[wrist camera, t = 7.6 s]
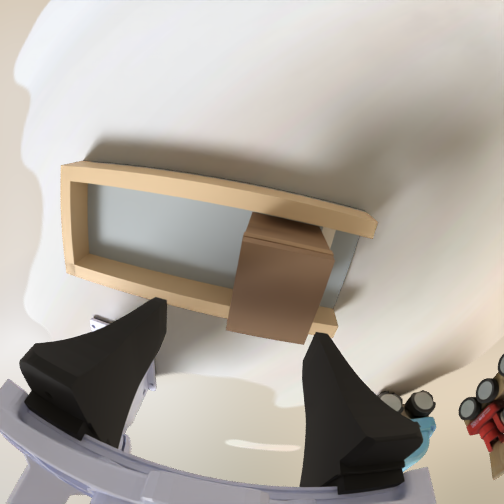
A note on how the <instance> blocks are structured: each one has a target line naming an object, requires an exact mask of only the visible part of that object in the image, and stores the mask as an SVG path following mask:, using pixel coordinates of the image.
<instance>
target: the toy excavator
mask: <svg viewBox="0 0 504 504" xmlns="http://www.w3.org/2000/svg"><path fill="white" fill-rule="evenodd" d="M388 392H389V391H386V392H383V393H381V394H379V395H378V397H379V398H380V399H381V400H383V401H384V402H385V403H386V404H387V405H389V406H390V407H391V408H393V409H394V410H396V411H397V412H399V413H400V414H402V415H403V416H405V417H407V418H408V419H410V420H412V421H414V422H416V423H417V424H418V425H419V427H420V430H421V433H422V436H423V443H422V444H421V446H420V447H419V448H418V449H417V450H416V451H415V452H414V453H412V454H411V455H410V456H409V457H407V458H406V459H405V460H404V461H405V467H404V468H402V471H403V472H404V471H405V470H406V469H408V468H409V467H411V466H412V465H413V464H415V463H416V462H418V461H419V460H420V459H421V458H422V457H423V456H424V455H425V453H426V452H427V449H428V446H429V438H430V437H431V436H432V434H433V432H434V431H435V429H436V424H435V421H434V418H433V417H429V414H430V413H431V412H432V411H433V410H434V408H435V405H436V403H435V402H433V397H432V395H431V394H430V393H429V392H427V391H424V390H422V391H421V392H417V393H413V394H412V395H411V397H410V398H409V399H408V401H407V402H406V403H405V404H402V399H401V397H400V396H398V395H397V394H395V393H393V394H394V395H392V394H388Z"/></svg>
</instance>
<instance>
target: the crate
mask: <svg viewBox="0 0 504 504" xmlns="http://www.w3.org/2000/svg"><path fill="white" fill-rule="evenodd" d="M333 256H334V254H333V252H332V251H331V250H330V248H329V246H328V244H327V242H326V240H325V237H324V235H323V233H322V231H321V229H320V227H319V226H314V225H310V224H306V223H301V222H297V221H292V220H288V219H283V218H279V217H274V216H269V215H265V214H260V213H255V212H252V215H251V217H250V220H249V223H248V226H247V229H246V232H244V234H243V239H242V244H241V249H240V255H239V260H238V265H237V271H236V276H235V282H234V287H233V293H232V298H231V304H230V309H229V315H228V320H227V327H226V330H228V331H233V332H237V333H242V334H247V335H252V336H257V337H262V338H268V339H273V340H279V341H285V342H291V343H297V344H303V345H304V343H305V341H306V338H307V336H308V333H309V331H310V328H311V326H312V323H313V321H314V318H315V315H316V313H317V310H318V308H319V305H320V302H321V299H322V297H323V294H324V291H325V288H326V286H327V283H328V280H329V277H330V274H331V271H332V268H333V265H334V262H335V259H334V257H333Z"/></svg>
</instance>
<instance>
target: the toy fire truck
mask: <svg viewBox="0 0 504 504" xmlns="http://www.w3.org/2000/svg"><path fill="white" fill-rule="evenodd" d="M498 371H499V372H498V373H497V374H496V376H495V377H494V378H493V379H490V378H487V379H484V380H482V381H481V382H480V383H479V385H478V387H477V390H476V397H468V398H466V399H465V400H464V401H463V402H462V403H461V405H460V407H459V416H460V418H461V419H462V420H464V422H465V424H466V426H467V430H468V433H469V435H475V434H480V436H481V439H483V440H484V442H485V444H486V446H487V449H488V451H489V452H490V461H491V468H492V477H493V480H495V479H497V478H499V477H500V476H501V475H503V474H504V434H503V433H504V354H503V355H502V357H501V358H500V360H499V363H498Z"/></svg>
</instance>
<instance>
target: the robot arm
mask: <svg viewBox="0 0 504 504" xmlns="http://www.w3.org/2000/svg"><path fill="white" fill-rule="evenodd" d="M166 318H167V300H165V299H162V298H158V297H154V298H153V299H151V300H149V301H148V302H146V303H145V304H143V305H142V306H140V307H138V308H137V309H135V310H134V311H132V312H130V313H129V314H127V315H125V316H124V317H122V318H120V319H118V320H116V321H115V322H113V323H111V324H109V323H106V322H103V321H100V320H98V319H95V318H92V319H91V320H90V324H91V329H92V332H90V333H87V334H83V335H80V336H77V337H74V338H70V339H65V340H60V341H54V342H46V343H36V344H34V346H33V347H32V348H31V349H30V350H29V351H28V352H27V353H26V354H25V356H24V357H23V358H22V359H21V360H20V363H19V364H20V369H21V371H22V374H23V375H24V378H25V379H26V381H27V383H28V385H29V387H30V388H31V390H32V391H31V392H30V394H29V395H28V394H27V393H26V392H25V391H24V390H23V389H22V388H21V387H19V386H18V385H17V384H15V383H14V382H13V381H11V380H10V379H7V381H6V382H5V383H4V385H3V386H2V387H1V388H0V433H1V434H2V435H3V436H4V437H5V438H6V439H7V440H8V441H9V442H10V443H11V444H12V445H13V446H15V447H16V448H17V449H18V450H20V451H21V452H22V453H23V454H24V456H25V458H26V461H27V463H28V465H27V467H26V468H25V470H24V472H23V474H22V475H21V477H20V479H19V480H18V482H17V484H16V486H15V488H14V489H13V491H12V493H11V495H10V497H9V498H8V500H7V502H6V504H65V503H66V502H67V500H68V498H69V496H70V495H87V496H89V497H91V498H92V499H91V502H90V504H436V500H435V495H434V490H433V486H432V482H431V478H430V474H429V470H428V467H424V468H419V469H415V470H411V471H408V472H405V473H403V471H402V468H404V467H405V461H404V460H405V459H406V458H407V457H409V456H410V455H411V454H412V453H414V452H415V451H416V450H417V449H418V448H419V447H420V446H421V444H422V443H423V436H422V433H421V430H420V427H419V425H418V424H417V423H416V422H414V421H412V420H410V419H408V418H407V417H405V416H403V415H402V414H400V413H399V412H397V411H396V410H394V409H393V408H391V407H390V406H389V405H387V404H386V403H385V402H384V401H383V400H381V399H380V398H379V397H378V396H377V395H376V394H375V393H374V392H372V391H371V390H370V389H369V387H368V386H367V385H366V384H365V383H364V382H363V381H362V380H361V379H360V378H359V377H358V375H357V374H356V373H355V372H354V370H353V369H352V368H351V367H350V365H349V364H348V363H347V361H346V360H345V358H344V357H343V355H342V354H341V353H340V351H339V350H338V348H337V347H336V345H335V344H334V342H333V341H332V339H331V338H330V336H329V335H328V334H327V333H321V332H315V335H314V337H313V339H312V342H311V344H310V346H309V349H308V351H307V353H306V355H305V357H304V360H303V369H302V382H303V393H304V403H305V412H306V436H305V437H306V438H305V450H304V461H303V468H302V475H301V482H300V487H280V486H267V485H256V484H247V483H240V482H233V481H227V480H221V479H216V478H211V477H206V476H201V475H197V474H193V473H189V472H185V471H181V470H177V469H174V468H170V467H167V466H163V465H160V464H157V463H154V462H151V461H148V460H145V459H142V458H140V457H137V456H134V455H132V454H131V442H130V438H129V436H128V435H126V434H125V432H126V430H127V428H128V427H129V426H130V425H131V424H132V423H133V421H134V419H135V417H136V415H137V412H138V410H139V408H140V406H141V404H142V401H143V399H144V397H145V395H146V393H147V391H148V389H149V390H152V391H155V390H156V377H155V365H154V358H155V356H156V354H157V353H158V351H159V349H160V347H161V344H162V342H163V339H164V337H165V334H166Z"/></svg>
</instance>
